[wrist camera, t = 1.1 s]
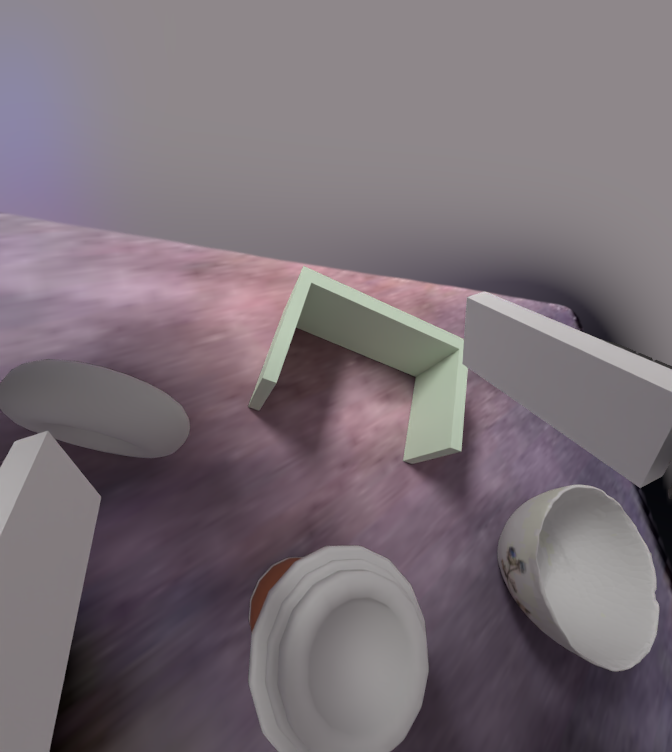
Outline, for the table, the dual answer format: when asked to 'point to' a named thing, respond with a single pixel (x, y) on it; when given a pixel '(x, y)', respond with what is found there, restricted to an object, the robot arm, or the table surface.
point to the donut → (94, 408)
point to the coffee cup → (336, 652)
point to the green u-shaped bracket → (380, 356)
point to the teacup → (582, 575)
